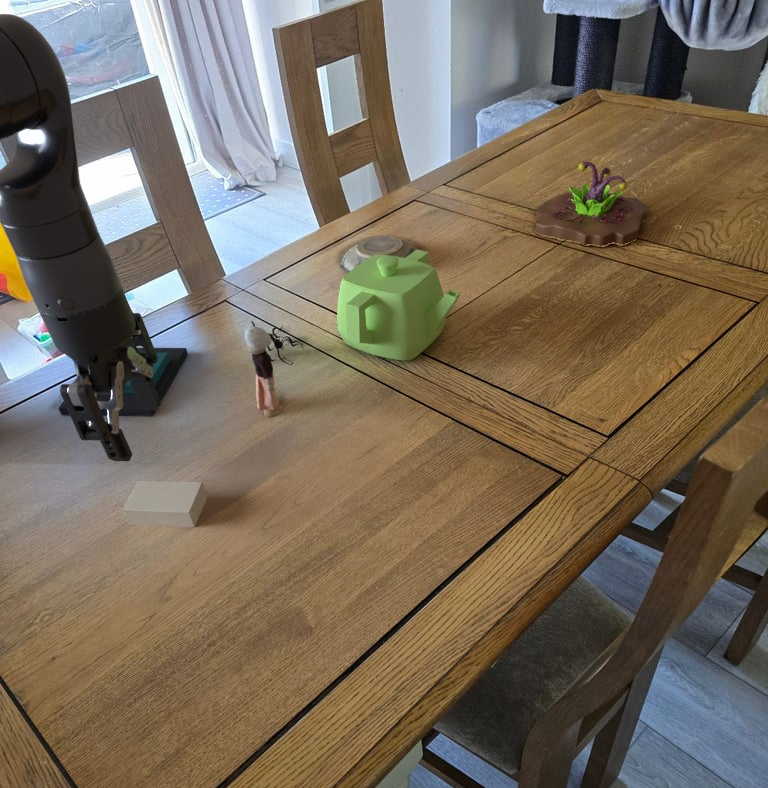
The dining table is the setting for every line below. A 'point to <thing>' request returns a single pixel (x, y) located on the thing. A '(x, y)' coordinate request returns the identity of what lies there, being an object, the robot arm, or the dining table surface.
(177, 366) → the pad
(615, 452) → the dining table surface
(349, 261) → the decorative bowl
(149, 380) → the robot arm
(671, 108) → the dining table surface
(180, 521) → the cream pad
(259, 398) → the grandmother figurine
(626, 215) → the plant
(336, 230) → the dining table surface
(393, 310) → the teapot
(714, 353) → the dining table surface
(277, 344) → the creature
